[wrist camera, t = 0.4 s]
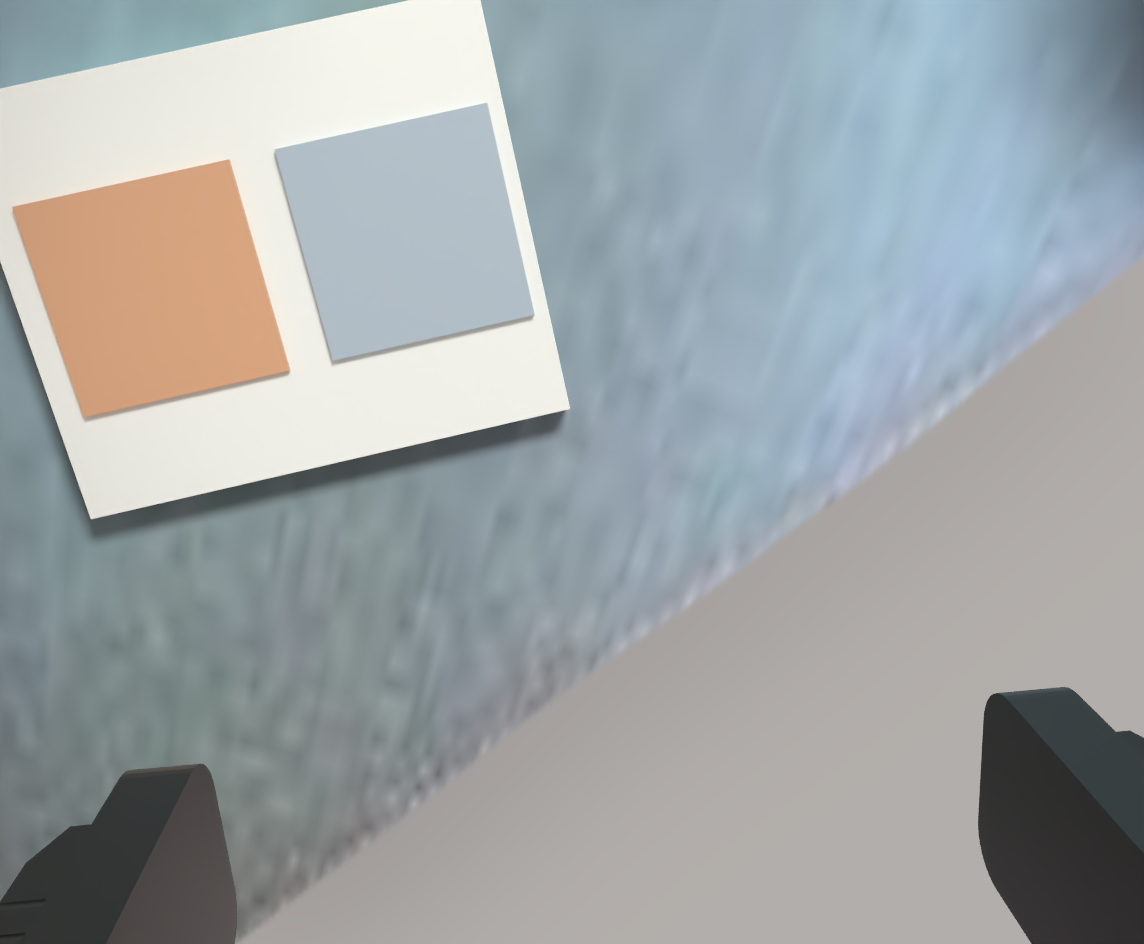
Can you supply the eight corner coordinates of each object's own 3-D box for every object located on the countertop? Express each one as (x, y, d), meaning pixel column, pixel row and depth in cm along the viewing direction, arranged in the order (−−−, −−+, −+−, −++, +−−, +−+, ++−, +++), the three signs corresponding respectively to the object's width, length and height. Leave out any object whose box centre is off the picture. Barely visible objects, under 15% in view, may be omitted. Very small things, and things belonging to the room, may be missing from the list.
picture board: (-42, 103, 34) (-60, 100, 33) (476, -9, 35) (477, -16, 34) (100, 511, 38) (89, 520, 37) (567, 403, 38) (570, 409, 37)
